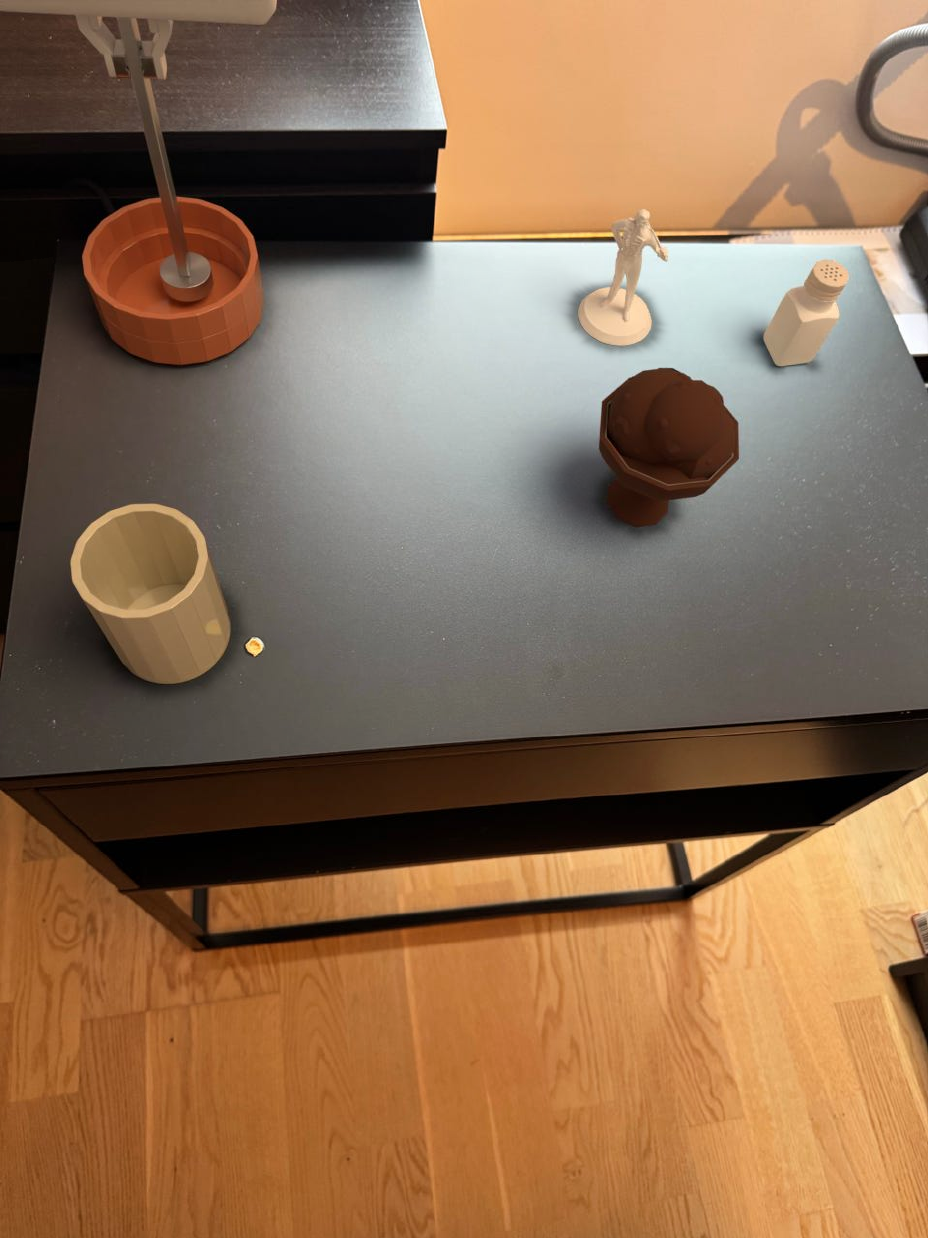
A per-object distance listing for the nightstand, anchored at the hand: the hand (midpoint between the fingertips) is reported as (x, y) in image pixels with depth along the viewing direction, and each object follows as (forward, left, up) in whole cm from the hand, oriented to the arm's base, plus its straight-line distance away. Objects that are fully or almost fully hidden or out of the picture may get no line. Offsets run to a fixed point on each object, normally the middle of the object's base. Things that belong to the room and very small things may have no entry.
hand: (138, 73), depth 64 cm
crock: (-6, -33, -21) cm, 40 cm away
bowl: (-1, -1, -21) cm, 21 cm away
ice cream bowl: (+33, -29, -21) cm, 49 cm away
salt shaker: (+53, -16, -21) cm, 59 cm away
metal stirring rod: (0, 0, -19) cm, 19 cm away
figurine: (+38, -9, -21) cm, 44 cm away
